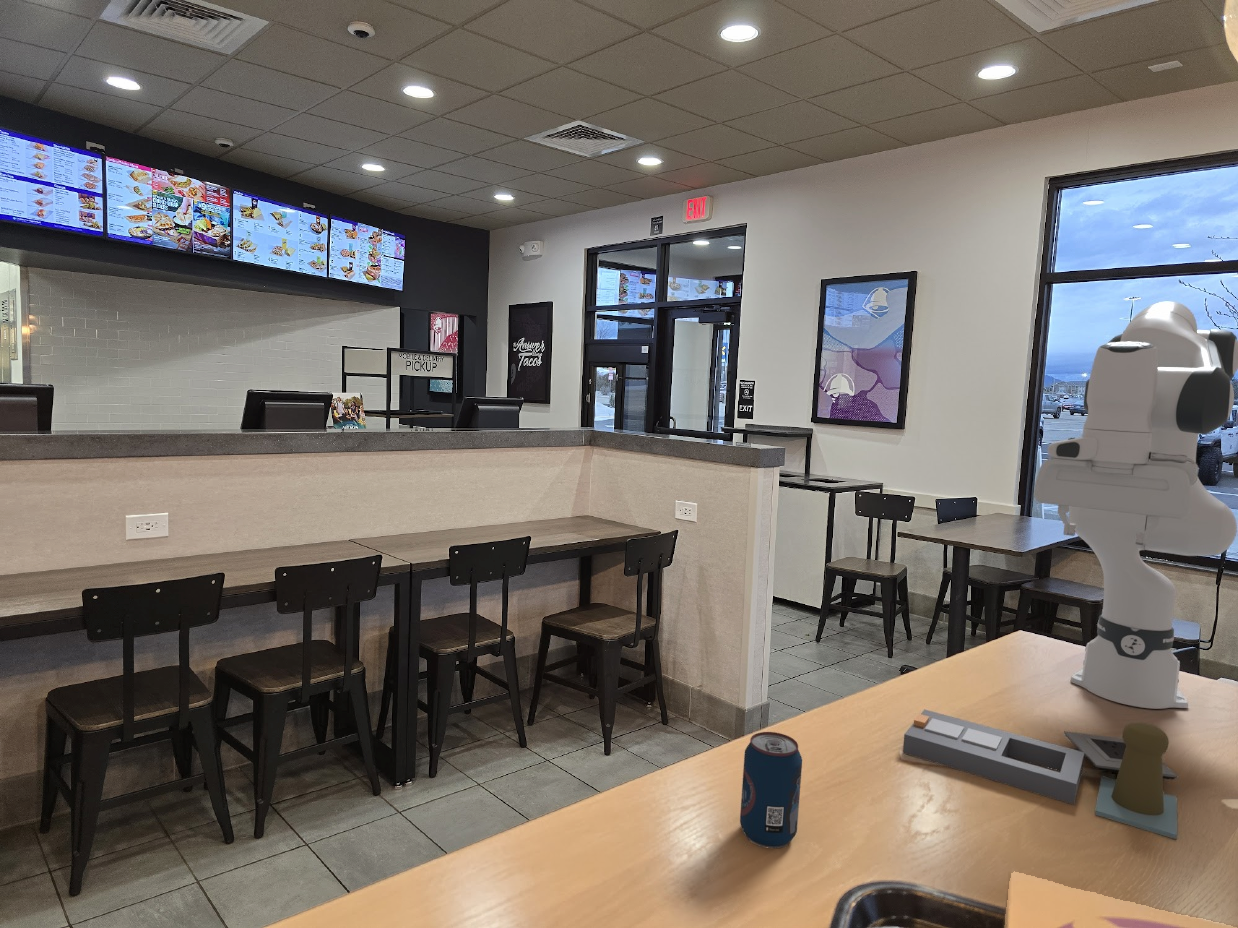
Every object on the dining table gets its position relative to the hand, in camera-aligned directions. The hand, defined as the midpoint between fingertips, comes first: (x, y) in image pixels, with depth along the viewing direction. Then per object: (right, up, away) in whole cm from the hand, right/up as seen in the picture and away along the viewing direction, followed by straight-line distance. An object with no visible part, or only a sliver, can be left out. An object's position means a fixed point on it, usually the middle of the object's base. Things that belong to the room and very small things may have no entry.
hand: (1104, 539), depth 120 cm
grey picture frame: (+1, -34, -1) cm, 34 cm away
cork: (-3, -35, -12) cm, 37 cm away
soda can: (-56, -34, -23) cm, 70 cm away
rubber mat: (-3, -36, -12) cm, 38 cm away
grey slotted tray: (-18, -34, -1) cm, 38 cm away
